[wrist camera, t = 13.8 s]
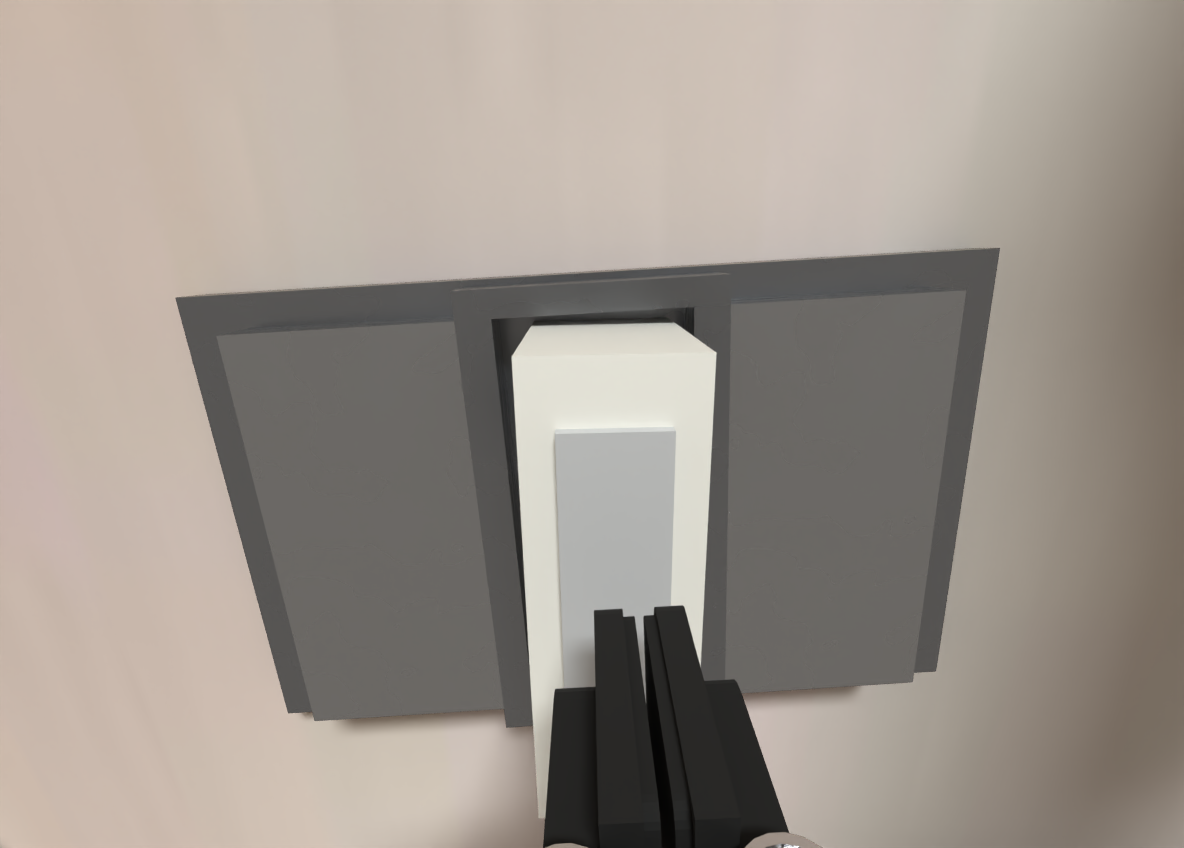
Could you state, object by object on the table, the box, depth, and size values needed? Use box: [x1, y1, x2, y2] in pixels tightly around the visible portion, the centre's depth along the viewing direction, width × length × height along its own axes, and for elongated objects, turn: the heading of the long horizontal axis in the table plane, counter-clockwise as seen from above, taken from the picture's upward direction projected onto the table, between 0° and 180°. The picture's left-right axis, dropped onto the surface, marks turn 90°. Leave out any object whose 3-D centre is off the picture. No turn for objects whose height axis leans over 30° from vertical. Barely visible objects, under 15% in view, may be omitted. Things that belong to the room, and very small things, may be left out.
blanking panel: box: [512, 318, 716, 819], centre depth 15 cm, size 4×12×6 cm, turn 1°
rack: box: [176, 248, 1000, 728], centre depth 18 cm, size 24×15×3 cm, turn 93°
